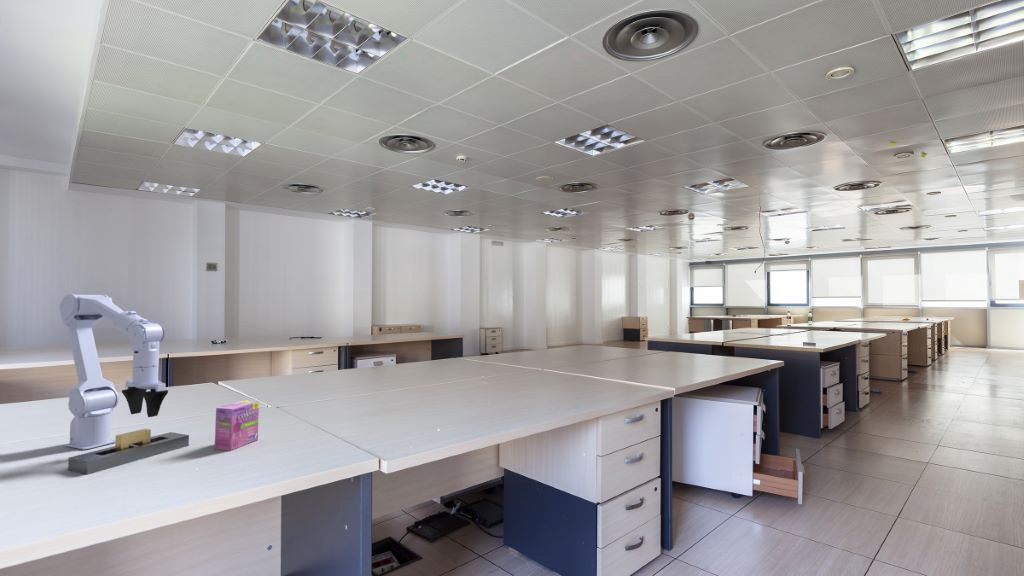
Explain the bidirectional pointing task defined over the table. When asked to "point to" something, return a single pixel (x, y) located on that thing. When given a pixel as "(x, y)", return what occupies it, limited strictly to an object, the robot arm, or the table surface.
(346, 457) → the table surface
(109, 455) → the block
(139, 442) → the clip
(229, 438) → the box
